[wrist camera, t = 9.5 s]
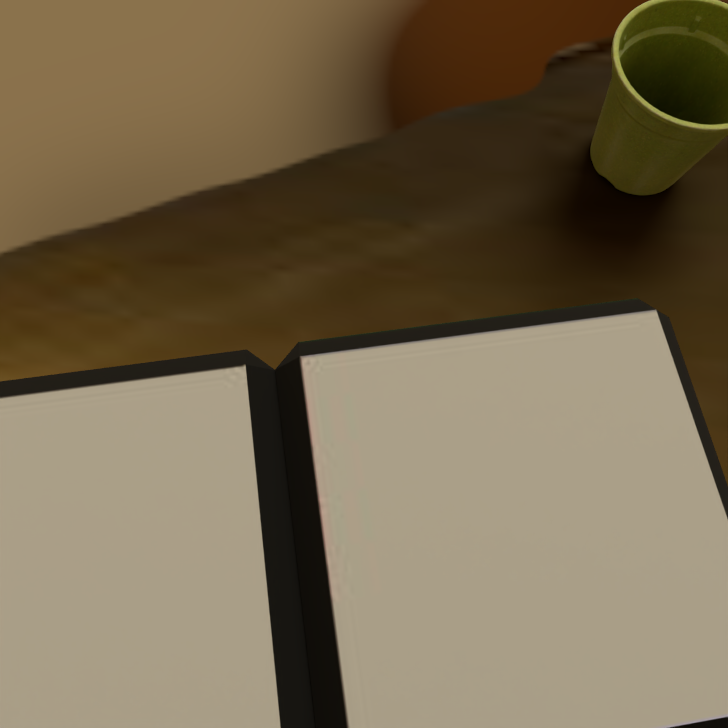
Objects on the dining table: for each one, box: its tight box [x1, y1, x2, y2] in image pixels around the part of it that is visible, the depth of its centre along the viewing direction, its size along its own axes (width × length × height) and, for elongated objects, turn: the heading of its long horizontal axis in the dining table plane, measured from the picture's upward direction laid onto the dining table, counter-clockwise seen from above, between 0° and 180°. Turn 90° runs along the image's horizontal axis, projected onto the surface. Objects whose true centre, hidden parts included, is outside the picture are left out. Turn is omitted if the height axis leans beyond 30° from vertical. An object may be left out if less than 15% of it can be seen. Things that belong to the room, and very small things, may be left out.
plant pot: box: [590, 0, 728, 195], centre depth 40 cm, size 9×9×9 cm
